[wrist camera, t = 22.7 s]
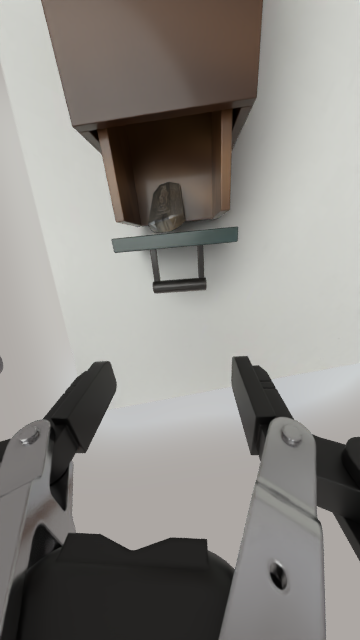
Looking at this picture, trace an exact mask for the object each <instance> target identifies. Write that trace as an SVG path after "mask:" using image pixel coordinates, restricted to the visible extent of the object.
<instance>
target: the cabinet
mask: <svg viewBox="0 0 360 640" xmlns="http://www.w3.org/2000/svg"><path fill="white" fill-rule="evenodd" d="M41 2H42V6H43V10H44V14H45V18H46V22H47V26H48V30H49V34H50V38H51V42H52V46H53V50H54V54H55V58H56V62H57V66H58V70H59V74H60V78H61V82H62V86H63V91H64V95H65V99H66V103H67V107H68V111H69V115H70V119H71V123H72V126H73V127H74V128H75V129H76V130H77V131H78V132H79V133H80V134H81V135H82V136H83V137H84V138H85V139H86V140H87V141H88V142H89V143H90V144H91V145H92V146H94V147H95V148H96V149H97V150H98V151H99V152H100V153H101V154H102V152H101V147H100V142H99V137H98V132H97V129H103V128H109V127H116V126H122V125H129V124H135V123H142V122H148V121H155V120H161V119H168V118H174V117H181V116H187V115H193V114H200V113H206V112H213V111H219V110H226V109H232V108H233V110H232V149H233V147H234V145H235V143H236V141H237V138H238V136H239V134H240V132H241V130H242V128H243V126H244V123H245V121H246V119H247V117H248V115H249V113H250V111H251V108H252V106H253V104H254V102H255V100H256V97H257V85H258V70H259V54H260V38H261V23H262V7H263V0H41ZM232 149H231V151H232Z"/></svg>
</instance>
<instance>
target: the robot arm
mask: <svg viewBox="0 0 360 640" xmlns="http://www.w3.org/2000/svg"><path fill="white" fill-rule="evenodd" d="M231 381H232V389H233V392H234V396H235V400H236V403H237V407H238V410H239V414H240V417H241V421H242V425H243V428H244V432H245V435H246V439H247V442H248V446H249V450H250V453H251V455H259V458H260V461H261V463H260V467H259V472H258V476H257V480H256V483H255V486H254V490H253V494H252V498H251V503H250V507H249V511H248V515H247V520H246V524H245V528H244V533H243V537H242V541H241V546H240V550H239V554H238V558H237V563H236V567H235V569H234V568H233V567H232V566H230V565H229V564H228V563H227V562H226V561H225V560H223V559H222V558H221V557H219V556H217V555H216V554H214V553H212V552H210V551H208V550H207V539H191V538H169V539H166V540H163V541H160V542H157V543H154V544H152V545H149V546H146V547H143V548H140V549H138V550H129V549H127V548H125V547H123V546H121V545H120V544H118V543H116V542H114V541H112V540H110V539H108V538H107V537H105V536H103V535H101V534H85V533H76V531H75V526H74V522H73V517H72V496H73V462H72V459H73V457H74V455H75V453H86V451H87V449H88V447H89V445H90V443H91V441H92V439H93V437H94V435H95V433H96V431H97V429H98V427H99V425H100V423H101V421H102V418H103V416H104V414H105V412H106V410H107V408H108V406H109V404H110V402H111V400H112V398H113V396H114V394H115V392H116V386H117V384H116V379H115V376H114V373H113V369H112V366H111V363H110V362H109V361H102V362H94V363H93V364H92V366H91V367H90V368H89V369H88V371H85V372H84V373H82V374H81V375H80V376H78V377H77V378H76V379H75V380H74V382H73V383H72V384H71V386H70V387H69V388H68V389H67V390H66V391H65V394H63V395H62V396H61V397H60V399H59V400H58V401H57V403H56V404H55V405H54V406H53V407H52V408H51V410H50V411H49V412H48V413H47V415H46V416H45V417H44V418H43V419H42V420H37V421H34V422H32V423H30V424H28V425H26V426H25V427H23V428H22V429H20V430H19V431H18V432H17V433H16V434H15V435H14V436H13V437H12V438H11V439H8V440H5V441H1V442H0V640H326V623H325V588H324V586H325V585H324V549H323V532H322V526H321V523H320V521H319V520H318V519H317V506H318V507H321V508H323V509H326V510H328V511H330V512H333V514H334V516H335V517H336V519H337V521H338V523H339V525H340V526H341V528H342V530H343V532H344V534H345V536H346V537H347V539H348V541H349V543H350V544H351V546H352V548H353V550H354V552H355V554H356V555H357V557H358V559H359V561H360V437H354V438H351V439H349V440H348V442H347V443H346V445H345V444H341V443H338V442H334V441H331V440H327V439H323V438H320V437H317V436H315V435H313V434H311V432H310V431H309V430H308V429H307V428H306V427H305V426H304V425H302V424H301V423H299V422H298V421H296V420H294V418H293V417H292V415H291V414H290V412H289V410H288V408H287V407H286V405H285V403H284V401H283V400H282V398H281V396H280V394H279V393H278V391H277V389H275V386H274V384H273V382H272V381H271V379H270V377H269V375H268V373H267V372H266V371H265V370H264V369H262V368H261V367H260V366H259V365H258V366H252V364H251V362H250V360H249V358H248V357H247V356H239V357H233V358H232V377H231Z"/></svg>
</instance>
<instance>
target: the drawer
mask: <svg viewBox="0 0 360 640" xmlns="http://www.w3.org/2000/svg"><path fill="white" fill-rule="evenodd" d="M232 110H233V108H232V109H226V110H219V111H213V112H206V113H200V114H193V115H187V116H181V117H174V118H168V119H161V120H155V121H148V122H142V123H135V124H129V125H122V126H116V127H109V128H103V129H97V132H98V137H99V142H100V147H101V152H102V157H103V162H104V166H105V171H106V176H107V181H108V186H109V191H110V195H111V200H112V205H113V210H114V215H115V220H116V222H118V223H122V224H127V225H131V226H136V227H140V226H149V224H148V222H149V216H150V210H151V204H152V198H153V193H154V192H155V191H156V189H157V188H158V187H159V185H160V184H163V183H166V182H173V183H178V184H180V187H181V192H182V199H183V206H184V212H185V218H186V221H185V222H189V221H198V220H208V219H218V218H219V217H221V216H222V215H223V214H225V213H226V212H228V211H229V210H230V188H231V149H232ZM237 241H238V227H228V228H218V229H208V230H198V231H188V232H177V233H167V234H157V235H147V236H137V237H127V238H117V239H112V244H113V249H114V252H115V253H119V252H130V251H141V250H150V254H151V261H152V267H153V274H154V282H153V291H154V293H169V292H184V291H198V290H206V278H205V277H204V257H203V245H206V244H217V243H228V242H237ZM195 245H197V253H198V276H199V278H191V279H178V280H165V281H160V273H159V266H158V258H157V251H156V249H163V248H173V247H184V246H195Z"/></svg>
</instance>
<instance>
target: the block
mask: <svg viewBox="0 0 360 640" xmlns="http://www.w3.org/2000/svg"><path fill="white" fill-rule="evenodd" d="M185 221H186V218H185V212H184V206H183V199H182V192H181V187H180V184H178V183H173V182H166V183H163V184H160V185H159V187H158V188H157V189H156V191H155V192H154V193H153V198H152V204H151V210H150V216H149V222H148V224H149V226H150V229H151V230H152V231H154V232H157V233H164V232H169V231H172V230H174V229H176V228H178V227H179V226H181V225H182V224H183V223H184V222H185Z"/></svg>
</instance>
